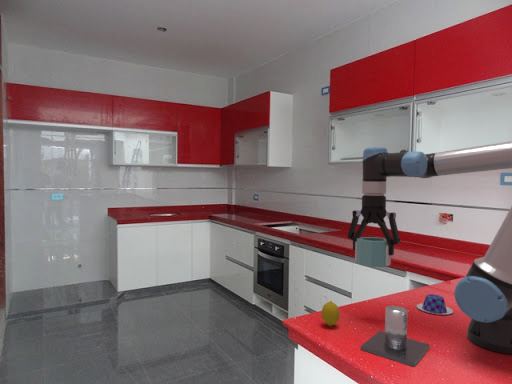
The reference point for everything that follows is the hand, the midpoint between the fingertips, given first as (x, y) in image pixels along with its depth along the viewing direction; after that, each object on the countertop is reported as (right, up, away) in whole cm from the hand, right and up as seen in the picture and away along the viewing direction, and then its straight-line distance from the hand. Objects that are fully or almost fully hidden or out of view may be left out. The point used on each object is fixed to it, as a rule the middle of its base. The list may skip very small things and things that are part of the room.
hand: (372, 262), depth 118 cm
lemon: (-15, -19, -4) cm, 25 cm away
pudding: (+27, -20, +13) cm, 36 cm away
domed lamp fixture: (0, -20, -19) cm, 28 cm away
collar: (0, 0, 0) cm, 0 cm away
